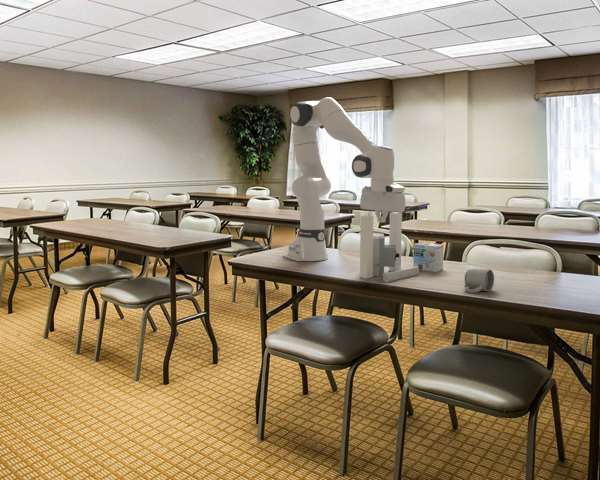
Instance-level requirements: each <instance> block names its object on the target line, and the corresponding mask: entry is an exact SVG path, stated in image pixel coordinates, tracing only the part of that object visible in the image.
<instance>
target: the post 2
mask: <svg viewBox="0 0 600 480" xmlns="http://www.w3.org/2000/svg"><path fill="white" fill-rule="evenodd" d="M402 231H403V212H389V234H388V235H389V236H388V237H389V238H388V239H389V241H388V242H389V243H388V245H396V246H395V250H396V253H400V254H399V257H396V260H395V267H388V272H391V271H395V270H400V269H402V235H403V234H402Z"/></svg>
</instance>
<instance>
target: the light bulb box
mask: <svg viewBox="0 0 600 480" xmlns="http://www.w3.org/2000/svg"><path fill="white" fill-rule="evenodd" d="M444 246H445V245H444V244H443V243H442V244H441V243H434V242H433V243H432V242H424V241H423V242H422V241H421V242H417V243H416V242H415V243H413V259H412V263H413V264H412V265H413V266H417V267H419V271H424V272H425V271H426V272H432V273H437V272H440V271H443V270H444V250H445V249H444ZM413 266H412V267H413Z"/></svg>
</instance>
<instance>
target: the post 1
mask: <svg viewBox="0 0 600 480" xmlns="http://www.w3.org/2000/svg"><path fill="white" fill-rule="evenodd" d="M359 230H360V231H359V233H360V240H359V243H360V245H359V246H360V247H359V248H360V249H359V252H360V253H359V258H360V259H359V263H360V264H359V278H361V279H371V278H373V277H374V276H373V236H374V215H360V229H359Z"/></svg>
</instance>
